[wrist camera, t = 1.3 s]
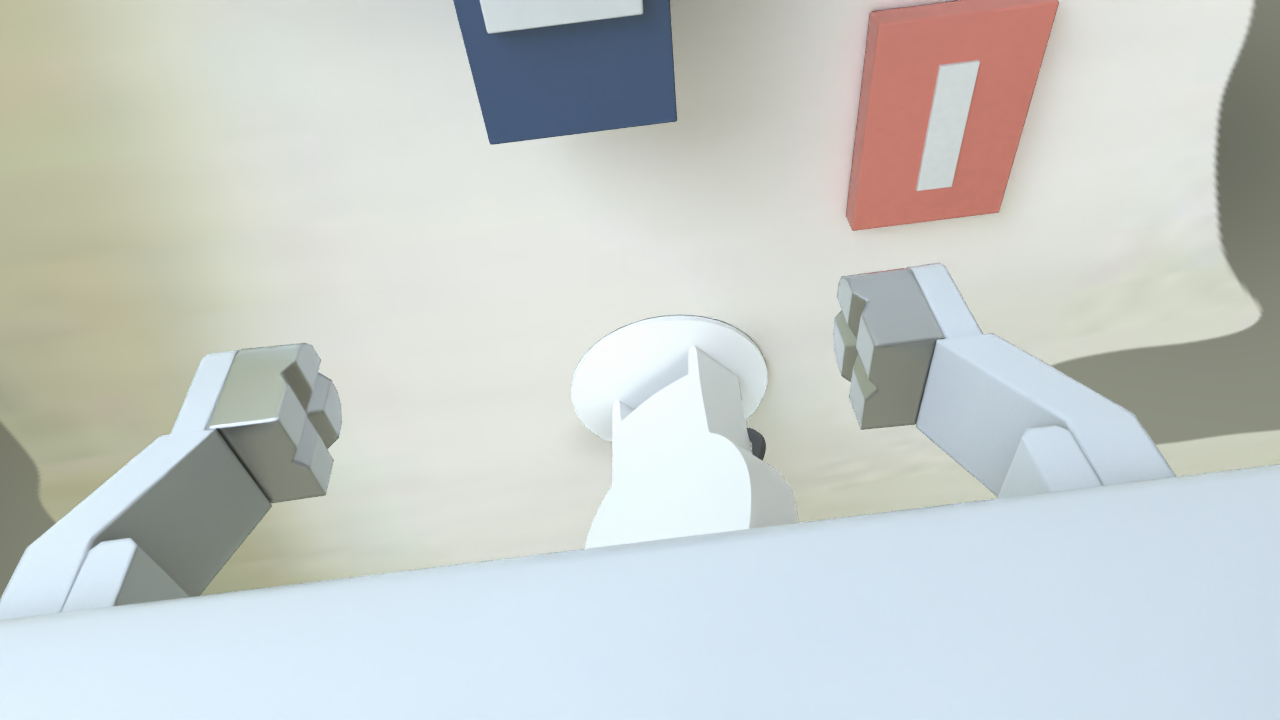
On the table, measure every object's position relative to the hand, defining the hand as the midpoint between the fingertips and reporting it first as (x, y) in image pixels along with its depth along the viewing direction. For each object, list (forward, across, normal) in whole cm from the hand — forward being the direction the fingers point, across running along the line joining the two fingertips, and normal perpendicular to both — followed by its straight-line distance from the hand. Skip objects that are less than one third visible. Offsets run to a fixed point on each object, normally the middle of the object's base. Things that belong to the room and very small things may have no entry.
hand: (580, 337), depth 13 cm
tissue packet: (+22, -15, +10) cm, 29 cm away
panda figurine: (+23, -2, +26) cm, 35 cm away
